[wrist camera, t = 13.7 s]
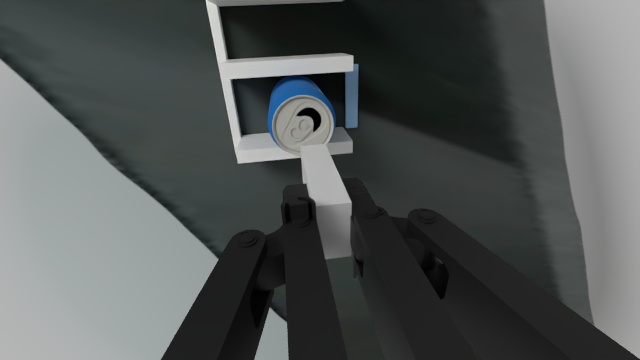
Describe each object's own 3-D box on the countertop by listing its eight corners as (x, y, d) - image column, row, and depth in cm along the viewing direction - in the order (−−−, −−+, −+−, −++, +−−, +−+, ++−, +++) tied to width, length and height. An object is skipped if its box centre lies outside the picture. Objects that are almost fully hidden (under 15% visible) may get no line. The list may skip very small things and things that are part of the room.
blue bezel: (345, 64, 35) (345, 64, 35) (357, 63, 35) (358, 64, 35) (345, 127, 39) (345, 128, 38) (356, 126, 39) (357, 127, 38)
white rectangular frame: (180, -141, 25) (155, -189, 20) (339, -140, 27) (355, -184, 21) (237, 151, 38) (230, 169, 33) (342, 141, 39) (352, 157, 34)
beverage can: (331, 100, 37) (352, 125, 26) (297, 135, 38) (304, 172, 28) (294, 62, 34) (302, 73, 23) (259, 101, 36) (251, 128, 25)
